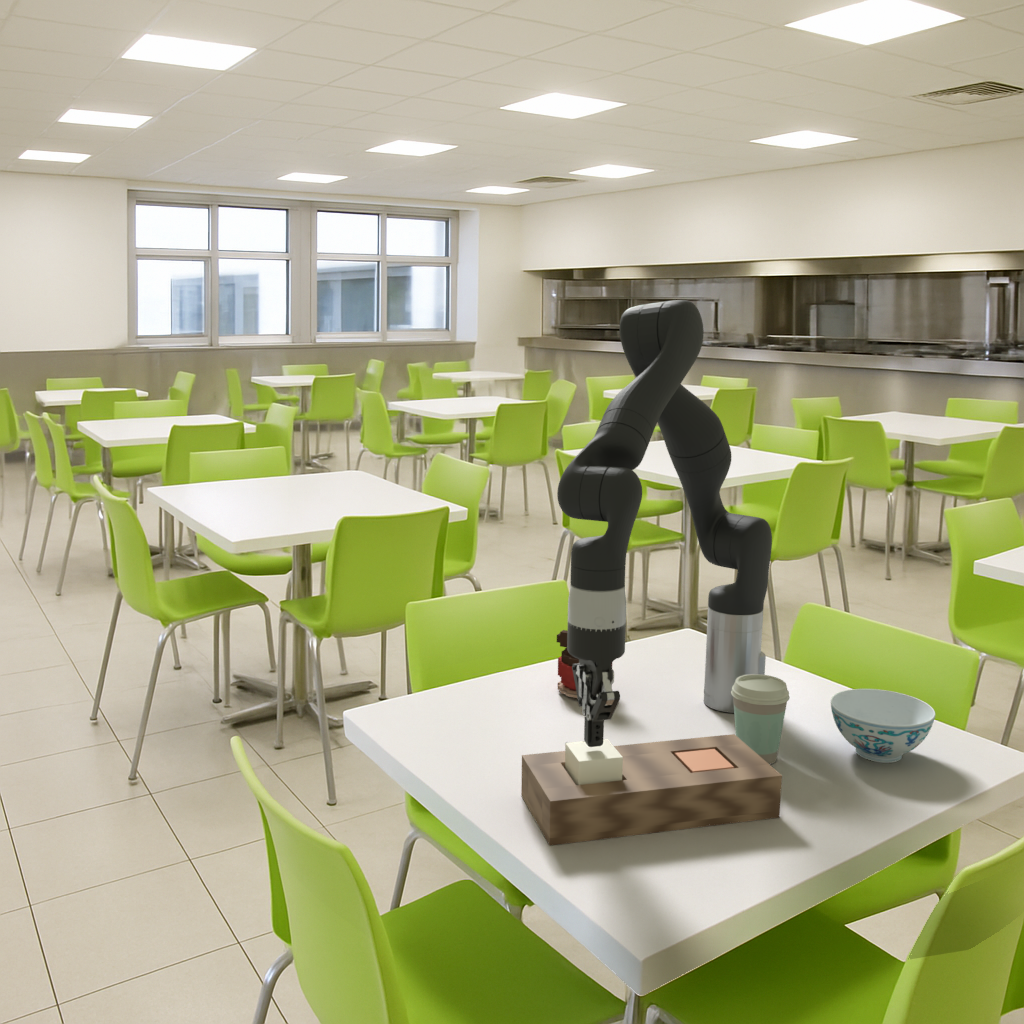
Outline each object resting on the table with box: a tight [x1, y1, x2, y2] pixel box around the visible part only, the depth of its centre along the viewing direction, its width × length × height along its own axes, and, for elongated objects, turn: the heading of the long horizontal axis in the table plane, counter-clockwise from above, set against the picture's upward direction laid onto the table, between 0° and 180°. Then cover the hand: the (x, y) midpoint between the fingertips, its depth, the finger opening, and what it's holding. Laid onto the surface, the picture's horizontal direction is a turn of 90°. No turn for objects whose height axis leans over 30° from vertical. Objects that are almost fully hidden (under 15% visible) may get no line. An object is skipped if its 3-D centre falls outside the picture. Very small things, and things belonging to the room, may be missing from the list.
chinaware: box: [830, 688, 936, 764], centre depth 155 cm, size 15×15×8 cm
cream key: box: [564, 738, 623, 785], centre depth 135 cm, size 6×6×4 cm
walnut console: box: [521, 733, 783, 846], centre depth 138 cm, size 32×14×6 cm, turn 104°
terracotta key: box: [675, 749, 734, 773], centre depth 139 cm, size 6×6×4 cm
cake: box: [556, 629, 579, 699], centre depth 179 cm, size 11×9×18 cm
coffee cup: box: [731, 674, 790, 765], centre depth 153 cm, size 8×8×12 cm
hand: (593, 744), depth 134 cm, fingers closed
